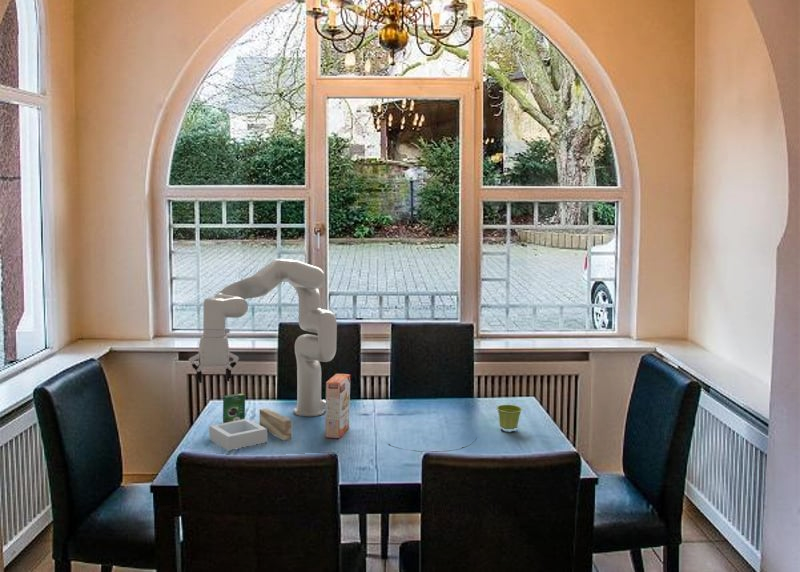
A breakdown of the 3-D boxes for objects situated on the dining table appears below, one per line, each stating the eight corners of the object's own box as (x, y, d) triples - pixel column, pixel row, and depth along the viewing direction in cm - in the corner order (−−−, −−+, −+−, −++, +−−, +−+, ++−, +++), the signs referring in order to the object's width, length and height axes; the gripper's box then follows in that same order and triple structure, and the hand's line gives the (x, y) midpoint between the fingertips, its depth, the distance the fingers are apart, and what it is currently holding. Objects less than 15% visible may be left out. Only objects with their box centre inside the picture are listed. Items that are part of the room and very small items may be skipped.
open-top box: (247, 431, 300) (247, 418, 299) (267, 442, 288) (267, 428, 287) (209, 439, 290) (209, 425, 290) (228, 450, 279) (228, 436, 278)
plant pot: (524, 428, 308) (525, 406, 307) (516, 435, 300) (517, 413, 299) (500, 425, 312) (501, 403, 311) (492, 432, 304) (493, 409, 302)
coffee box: (242, 426, 306) (241, 392, 304) (245, 428, 304) (245, 394, 302) (222, 430, 301) (222, 395, 299) (226, 432, 299) (225, 397, 297)
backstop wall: (266, 426, 306) (266, 408, 305) (291, 438, 292) (291, 420, 291) (259, 427, 304) (259, 409, 303) (284, 440, 290) (283, 421, 289)
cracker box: (340, 439, 293) (340, 383, 290) (324, 438, 294) (324, 381, 291) (350, 427, 306) (351, 373, 303) (335, 426, 307) (335, 372, 304)
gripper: (236, 330, 289) (235, 377, 291) (187, 332, 282) (186, 380, 284) (241, 334, 282) (240, 382, 284) (190, 336, 275) (190, 385, 277)
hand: (213, 381), depth 284 cm, fingers open, 9 cm apart
